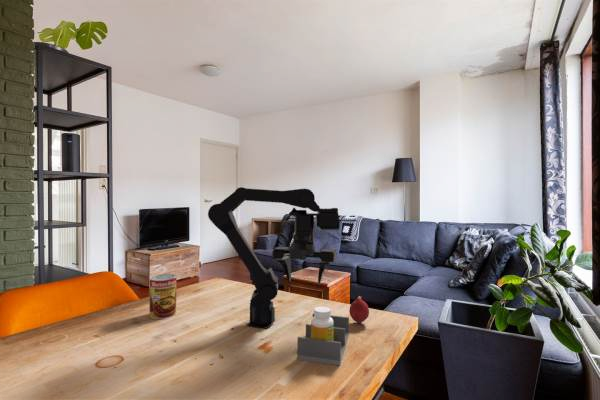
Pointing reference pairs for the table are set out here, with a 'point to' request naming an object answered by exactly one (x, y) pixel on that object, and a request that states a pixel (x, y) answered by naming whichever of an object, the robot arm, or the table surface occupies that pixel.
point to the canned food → (162, 296)
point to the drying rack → (325, 344)
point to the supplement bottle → (322, 324)
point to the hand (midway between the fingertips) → (304, 282)
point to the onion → (359, 310)
